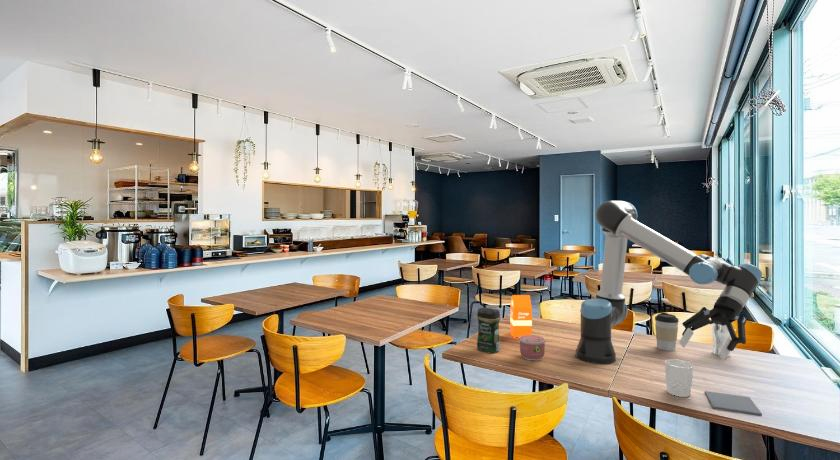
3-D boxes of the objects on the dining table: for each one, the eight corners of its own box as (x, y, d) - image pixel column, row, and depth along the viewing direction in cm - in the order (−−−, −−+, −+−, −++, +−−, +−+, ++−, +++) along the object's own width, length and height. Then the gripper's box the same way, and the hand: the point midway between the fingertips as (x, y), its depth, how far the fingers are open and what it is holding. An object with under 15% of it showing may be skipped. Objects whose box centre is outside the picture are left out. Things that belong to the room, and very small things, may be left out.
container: (516, 359, 173) (516, 340, 172) (522, 352, 182) (522, 333, 182) (542, 363, 168) (542, 343, 167) (547, 355, 177) (547, 336, 177)
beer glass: (725, 358, 172) (726, 321, 171) (707, 353, 178) (708, 318, 178) (734, 355, 175) (735, 319, 175) (716, 350, 181) (717, 315, 181)
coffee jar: (474, 350, 184) (474, 308, 184) (483, 345, 190) (483, 305, 190) (493, 355, 178) (493, 311, 177) (502, 350, 184) (502, 308, 183)
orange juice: (531, 338, 201) (532, 296, 200) (513, 338, 201) (513, 296, 201) (528, 333, 209) (528, 293, 208) (510, 333, 209) (510, 293, 208)
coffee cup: (681, 352, 179) (682, 317, 179) (658, 351, 181) (659, 316, 181) (673, 345, 188) (674, 312, 188) (651, 344, 190) (651, 311, 189)
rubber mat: (713, 408, 129) (713, 406, 129) (704, 392, 140) (704, 390, 140) (761, 415, 124) (761, 413, 124) (749, 398, 135) (749, 397, 135)
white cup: (659, 388, 144) (659, 359, 143) (681, 387, 144) (681, 358, 144) (675, 398, 136) (675, 368, 135) (698, 397, 136) (698, 367, 136)
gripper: (776, 317, 136) (745, 369, 132) (700, 302, 160) (672, 346, 155) (766, 302, 134) (734, 355, 129) (691, 289, 157) (661, 333, 153)
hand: (700, 350), depth 142 cm, fingers open, 13 cm apart
